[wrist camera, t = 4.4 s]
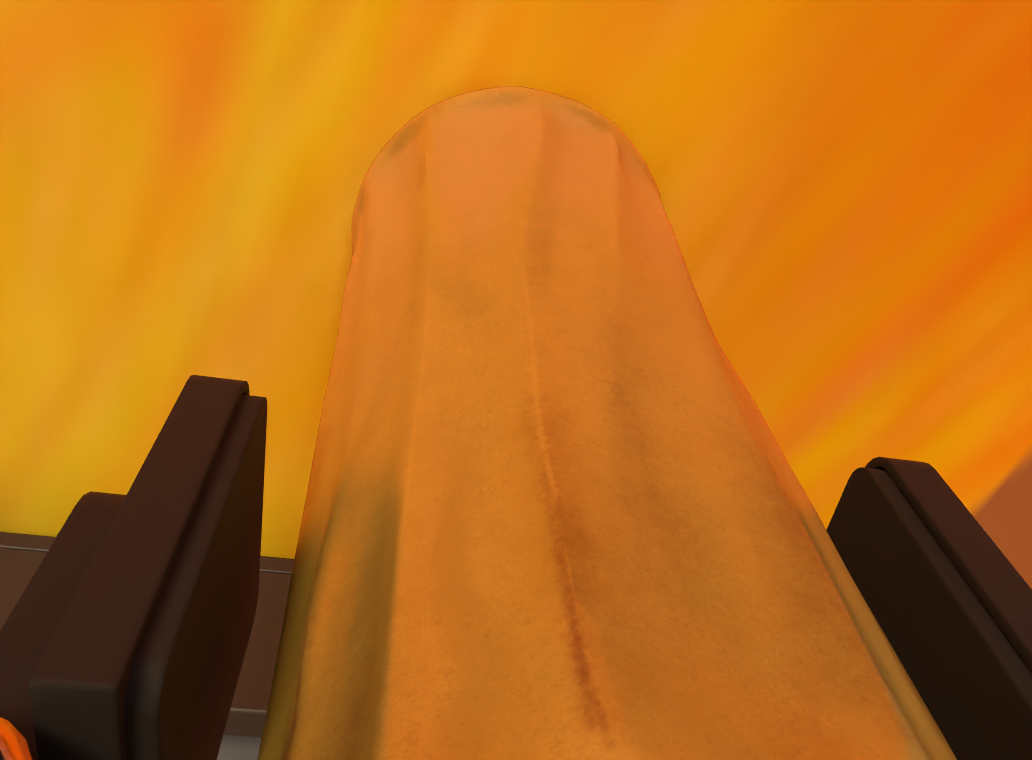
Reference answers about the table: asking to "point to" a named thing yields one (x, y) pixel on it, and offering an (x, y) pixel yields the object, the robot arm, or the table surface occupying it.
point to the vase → (557, 487)
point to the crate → (15, 558)
